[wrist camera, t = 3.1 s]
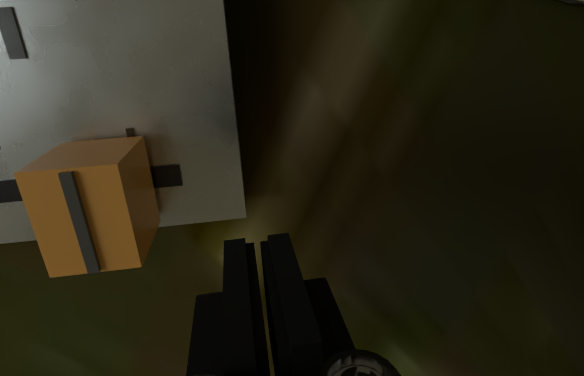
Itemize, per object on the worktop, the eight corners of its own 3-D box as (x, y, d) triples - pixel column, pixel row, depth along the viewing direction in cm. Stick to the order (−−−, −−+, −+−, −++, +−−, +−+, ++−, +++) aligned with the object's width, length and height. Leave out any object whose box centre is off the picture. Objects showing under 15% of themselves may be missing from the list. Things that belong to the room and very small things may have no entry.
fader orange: (143, 135, 16) (115, 165, 12) (160, 220, 18) (140, 270, 14) (63, 142, 16) (10, 175, 12) (87, 228, 17) (47, 281, 14)
